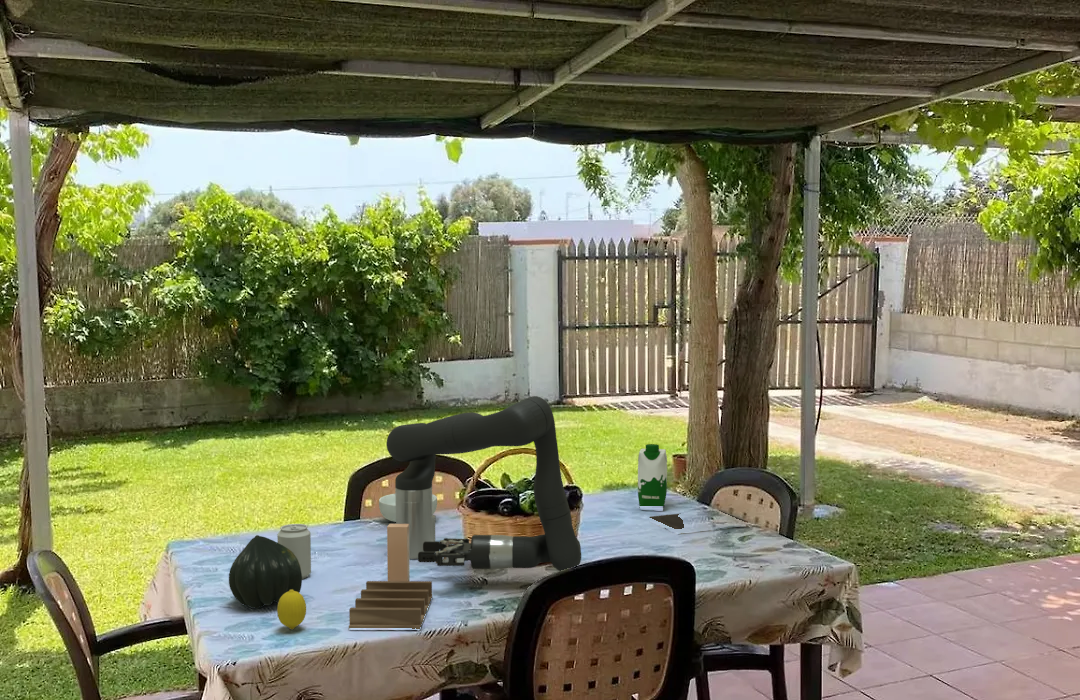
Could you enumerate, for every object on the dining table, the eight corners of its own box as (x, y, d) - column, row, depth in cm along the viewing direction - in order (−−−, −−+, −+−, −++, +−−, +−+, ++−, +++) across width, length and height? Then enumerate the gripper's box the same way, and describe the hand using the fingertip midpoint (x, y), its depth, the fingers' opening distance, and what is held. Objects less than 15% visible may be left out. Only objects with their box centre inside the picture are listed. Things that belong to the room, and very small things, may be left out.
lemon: (280, 625, 192) (279, 585, 192) (308, 624, 193) (307, 585, 192) (275, 634, 187) (274, 594, 186) (304, 634, 187) (303, 593, 187)
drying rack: (368, 598, 209) (367, 580, 209) (432, 598, 209) (432, 580, 209) (348, 630, 189) (348, 610, 189) (419, 631, 189) (419, 611, 189)
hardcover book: (748, 529, 272) (748, 521, 272) (677, 537, 263) (677, 528, 263) (717, 516, 287) (717, 509, 286) (648, 523, 278) (649, 516, 278)
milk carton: (636, 511, 291) (637, 445, 290) (639, 504, 300) (639, 441, 299) (665, 512, 289) (666, 446, 288) (667, 506, 298) (668, 442, 297)
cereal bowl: (380, 515, 285) (380, 492, 285) (437, 514, 287) (437, 491, 287) (377, 530, 268) (377, 505, 268) (437, 528, 270) (437, 503, 270)
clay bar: (389, 584, 219) (389, 523, 218) (409, 584, 219) (409, 523, 218) (387, 588, 216) (387, 527, 215) (407, 588, 216) (407, 527, 215)
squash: (303, 588, 198) (298, 523, 207) (227, 597, 194) (225, 531, 203) (303, 616, 209) (298, 553, 218) (231, 625, 205) (229, 561, 214)
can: (281, 583, 219) (281, 531, 219) (274, 574, 226) (274, 524, 225) (314, 579, 223) (314, 527, 222) (306, 570, 230) (306, 521, 229)
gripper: (494, 527, 224) (424, 527, 224) (490, 543, 209) (416, 543, 209) (494, 559, 224) (424, 559, 224) (490, 577, 210) (416, 577, 210)
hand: (420, 551), depth 217 cm, fingers open, 8 cm apart
